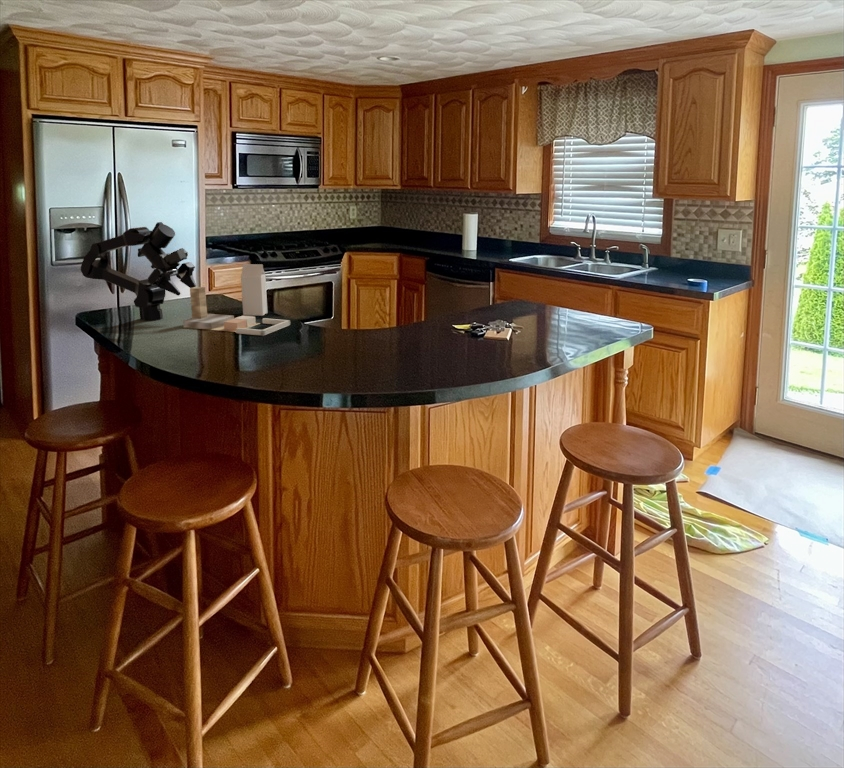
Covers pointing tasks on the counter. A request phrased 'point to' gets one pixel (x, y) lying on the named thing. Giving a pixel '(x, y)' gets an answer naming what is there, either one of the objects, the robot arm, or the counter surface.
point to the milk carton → (253, 289)
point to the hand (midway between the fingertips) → (188, 292)
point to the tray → (268, 330)
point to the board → (225, 330)
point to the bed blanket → (203, 312)
